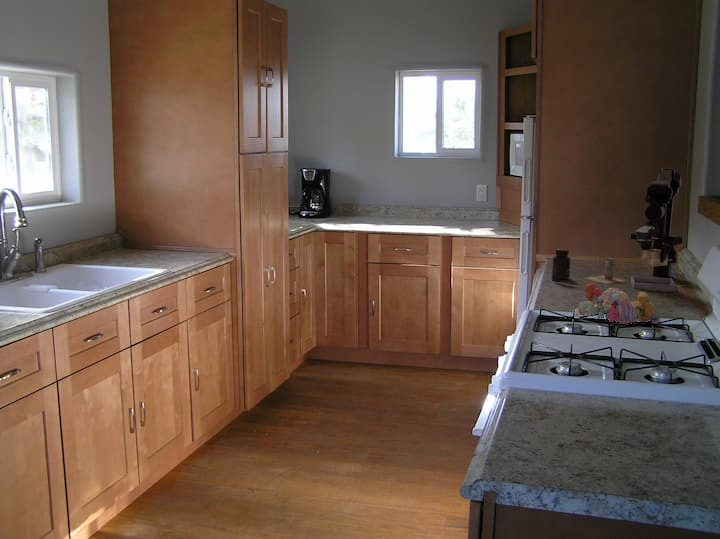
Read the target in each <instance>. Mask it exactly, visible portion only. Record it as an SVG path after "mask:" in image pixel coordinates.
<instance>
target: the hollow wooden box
mask: <svg viewBox="0 0 720 539" xmlns="http://www.w3.org/2000/svg"><path fill="white" fill-rule="evenodd" d="M640 256H641V257H640V264H641V265H646V266H650V267H653V266H655V267H656V266H664V265H667V262H668V260H669V259H668V255H667V257H666V259H665V261H664V262H663V263H661V260H660V258H661V250H656V249H650V250H642V249H641V255H640Z"/></svg>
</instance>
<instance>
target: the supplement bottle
mask: <svg viewBox="0 0 720 539" xmlns="http://www.w3.org/2000/svg"><path fill="white" fill-rule="evenodd" d="M554 254H555V255H554V256H553V257H552V260H551V264H552V265H551V281H553V282H557V283H562V281H570V279H571V267H572V265H571V264H572V258H571V257H570V256H569V255H570V254H569V249H567V248H566V249H565V248H556V249H555V252H554Z"/></svg>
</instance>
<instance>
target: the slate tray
mask: <svg viewBox="0 0 720 539" xmlns="http://www.w3.org/2000/svg"><path fill="white" fill-rule="evenodd" d="M636 282H637V283H636ZM638 282H639V283H638ZM640 282H641V283H640ZM630 283H631V285H632V289H638V290H637V291H639V292H657V293H659V292H660V293H661V292H662V293H676V290H677V289H676V288H677V285H676V283H675V282H674V280H673V278H660V277H653V276H652V277H650V276H649V277H648V276H630ZM654 283H655V284H654Z"/></svg>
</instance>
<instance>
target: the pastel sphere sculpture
mask: <svg viewBox="0 0 720 539" xmlns="http://www.w3.org/2000/svg"><path fill="white" fill-rule="evenodd" d="M584 293H585V298H586V301H581V302H579V303H578V305H577V308H575V309H574V310H573V312H574V311H575V313H576V314H578V315H583V316H591V315H595V314H597V313H598V314H599V315H598V316H597V317H598V318H600V317H601V318H604V315H603V314H604V313H606V314H608V315H607V316H608V319H609V321H610V322H614V320H616V323H617V322H619V323H617V324H619V325H621V324H622V326H624V324H626V325H629V324H628V323H630V322H631V323H630V324H631V325H633V324H632V322H633V323H634V322H637V321H642V322H646V321H648V320H649V319H650V318H652V320H651V321H652V322H651V323H653V322H654V320H653V319H655V318H658V317H659V315H657V313H656V308H655V304H653V303H652V302H650V299H651V297H650V296H649V294H648V293H647V291H639V292H638V294H637V297H636V298H637V300H634V301H632V300H630V297H629V295H628V294H627V293H626V292H624V291H621V290H620V289H619V288H618V287H616V288H614V287H610V288H608V289H607V290H605V291H602V289H601V288H600V287H599V288H598V286H597V285H596V284H595V283H587V284H586V285H585V286H584ZM594 298H595V299H596V300H597V301H596V304H594V303H593V302H594ZM605 317H606V316H605ZM616 323H615V324H616ZM634 324H635V323H634Z"/></svg>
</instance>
